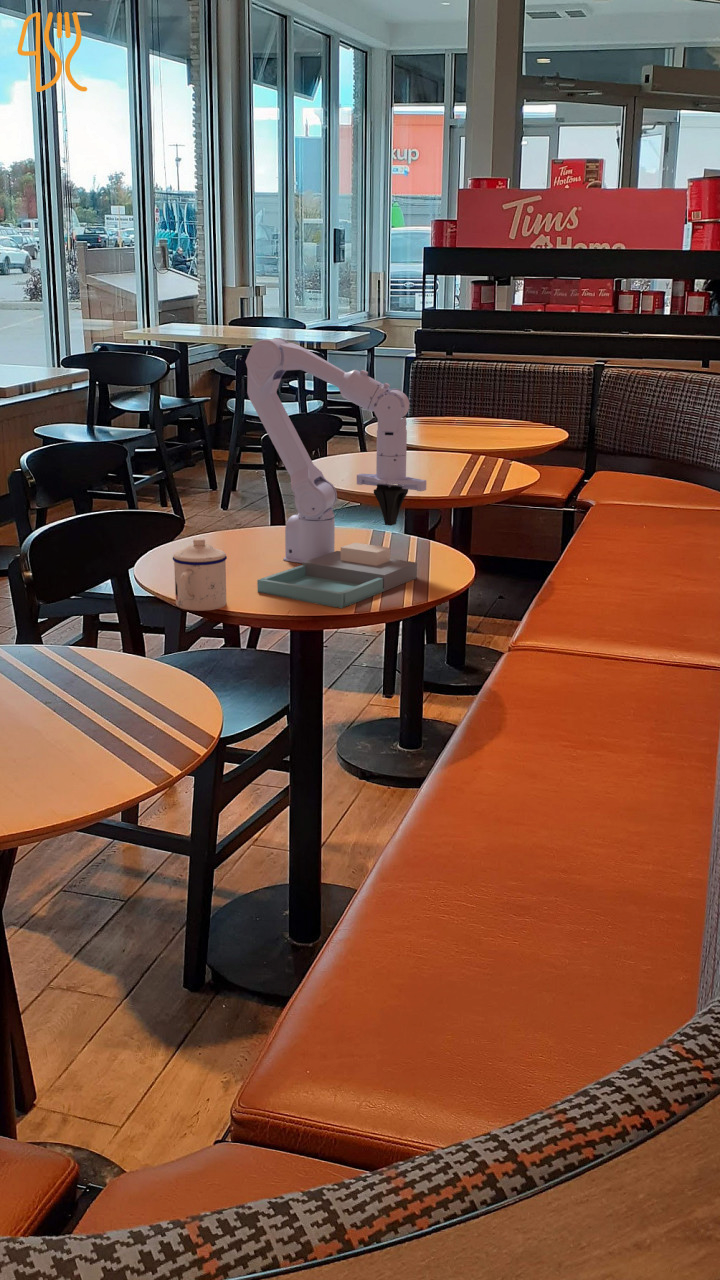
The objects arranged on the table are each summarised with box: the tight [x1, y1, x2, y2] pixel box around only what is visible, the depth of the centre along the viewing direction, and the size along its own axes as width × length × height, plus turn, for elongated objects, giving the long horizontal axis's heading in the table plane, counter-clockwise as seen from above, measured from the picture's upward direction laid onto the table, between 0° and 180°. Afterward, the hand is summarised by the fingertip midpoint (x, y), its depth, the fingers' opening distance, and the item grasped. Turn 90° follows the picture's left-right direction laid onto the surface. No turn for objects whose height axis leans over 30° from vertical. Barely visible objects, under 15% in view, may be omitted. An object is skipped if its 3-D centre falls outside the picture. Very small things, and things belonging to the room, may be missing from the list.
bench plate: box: [301, 550, 418, 592], centre depth 215 cm, size 18×12×3 cm, turn 58°
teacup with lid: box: [172, 537, 228, 612], centre depth 193 cm, size 12×9×12 cm
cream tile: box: [340, 542, 391, 566], centre depth 216 cm, size 8×5×2 cm, turn 58°
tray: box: [256, 565, 385, 609], centre depth 205 cm, size 18×14×2 cm
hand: (390, 524), depth 222 cm, fingers closed
